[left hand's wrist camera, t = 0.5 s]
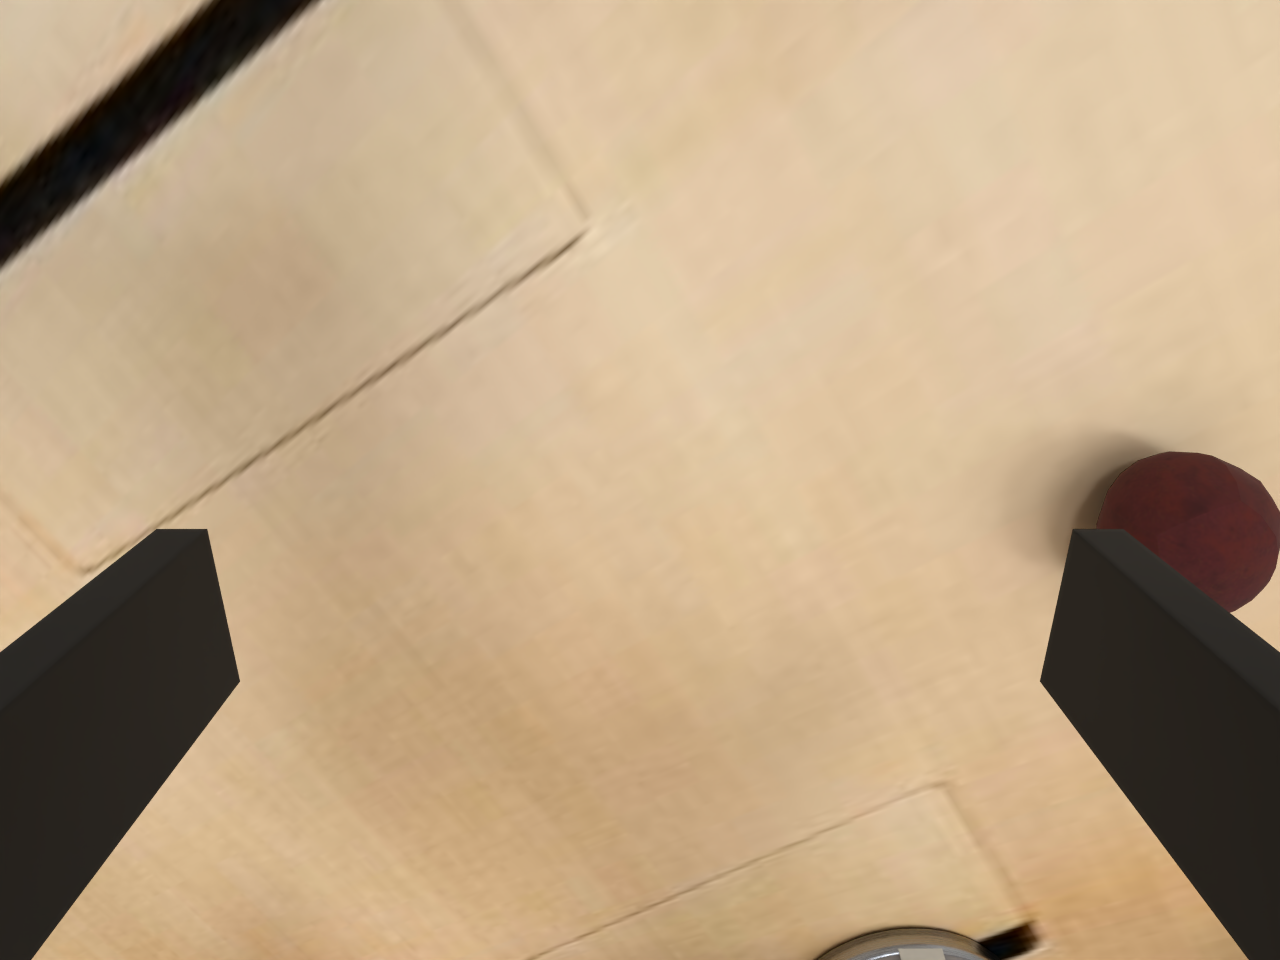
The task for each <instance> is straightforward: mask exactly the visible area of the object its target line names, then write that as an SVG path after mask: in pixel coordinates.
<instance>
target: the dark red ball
mask: <svg viewBox="0 0 1280 960" xmlns="http://www.w3.org/2000/svg"><path fill="white" fill-rule="evenodd" d="M1097 529H1124V530H1125V531H1126V532H1128V533H1129V534H1130V535H1131V536H1133V537H1134V538H1135V539H1137V540H1138V541H1139V542H1140V543H1142V544H1143V545H1144V546H1145V547H1147V548H1148V549H1149V550H1151V551H1152V552H1153V553H1154V554H1156V555H1157V556H1158V557H1159V558H1161V559H1162V560H1163V561H1164V562H1166V563H1167V564H1168V565H1170V566H1171V567H1172V568H1173V569H1175V570H1176V571H1177V572H1178V573H1180V574H1181V575H1182V576H1183V577H1185V578H1186V579H1187V580H1189V581H1190V582H1191V583H1192V584H1194V585H1195V586H1196V587H1197V588H1199V589H1200V590H1201V591H1203V592H1204V593H1205V594H1206V595H1208V596H1209V597H1210V598H1211V599H1213V600H1214V601H1215V602H1216V603H1218V604H1219V605H1220V606H1222V607H1223V608H1224V609H1225V610H1227V611H1228V612H1229V613H1230V612H1233V611H1235V610H1237V609H1239V608H1240V607H1242V606H1244V605H1245V604H1247V603H1248V602H1250V601H1252V600H1253V599H1254V598H1255V597H1256V596H1257V595H1258V594H1259V593H1260V592H1261V591H1262V590H1263V589H1264V587H1265V586H1266V585H1267V584H1268V582H1269V581H1270V579H1271V577H1272V575H1273V573H1274V571H1275V568H1276V564H1277V559H1278V554H1279V550H1280V511H1279V510H1278V508H1277V506H1276V504H1275V502H1274V500H1273V499H1272V497H1271V496H1270V494H1269V493H1268V491H1267V490H1266V489H1265V487H1264V486H1263V484H1262V483H1261V481H1259V480H1258V479H1256V478H1254V477H1253V476H1251V475H1250V474H1248V473H1247V472H1245V471H1243V470H1242V469H1240V468H1238V467H1236V466H1234V465H1231V464H1229V463H1227V462H1225V461H1223V460H1220V459H1218V458H1216V457H1214V456H1211V455H1206V454H1201V453H1189V452H1165V453H1160V454H1157V455H1154V456H1151V457H1147V458H1144V459H1141V460H1138V461H1137V462H1136V463H1134V464H1133V465H1131V466H1130V467H1129V468H1127V469H1126V470H1125V471H1123V472H1122V473H1121V474H1120V475H1119V476H1118V478H1117V479H1116V480H1115V482H1114V483H1113V484H1112V486H1111V487H1110V488H1109V490H1108V492H1107V495H1106V498H1105V500H1104V503H1103V506H1102V509H1101V512H1100V515H1099V518H1098V522H1097Z"/></svg>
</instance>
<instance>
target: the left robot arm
mask: <svg viewBox="0 0 1280 960" xmlns="http://www.w3.org/2000/svg"><path fill="white" fill-rule="evenodd" d="M239 682H240V679H239V674H238V670H237V665H236V661H235V656H234V651H233V647H232V642H231V637H230V633H229V628H228V624H227V619H226V614H225V610H224V605H223V600H222V596H221V591H220V586H219V582H218V577H217V573H216V568H215V563H214V559H213V554H212V549H211V545H210V540H209V535H208V531H207V529H156V530H155V531H154V532H152V533H151V534H150V535H149V536H147V537H146V538H145V539H143V540H142V541H141V542H140V543H138V544H137V545H136V546H135V547H133V548H132V549H131V550H129V551H128V552H127V553H126V554H124V555H123V556H122V557H121V558H119V559H118V560H117V561H116V562H114V563H113V564H112V565H110V566H109V567H108V568H107V569H105V570H104V571H103V572H102V573H100V574H99V575H98V576H97V577H95V578H94V579H93V580H91V581H90V582H89V583H88V584H86V585H85V586H84V587H83V588H81V589H80V590H79V591H77V592H76V593H75V594H74V595H72V596H71V597H70V598H69V599H67V600H66V601H65V602H64V603H62V604H61V605H60V606H58V607H57V608H56V609H55V610H53V611H52V612H51V613H50V614H48V615H47V616H46V617H44V618H43V619H42V620H41V621H39V622H38V623H37V624H36V625H34V626H33V627H32V628H31V629H29V630H28V631H27V632H25V633H24V634H23V635H22V636H20V637H19V638H18V639H17V640H15V641H14V642H13V643H12V644H10V645H9V646H8V647H6V648H5V649H4V650H3V651H1V652H0V960H31V959H32V958H33V957H34V955H35V954H36V953H37V951H38V950H39V949H40V947H41V946H42V945H43V943H44V942H45V941H46V939H47V938H48V937H49V935H50V934H51V933H52V931H53V930H54V929H55V927H56V926H57V925H58V923H59V922H60V921H61V919H62V918H63V917H64V915H65V914H66V913H67V911H68V910H69V909H70V907H71V906H72V905H73V903H74V902H75V901H76V899H77V898H78V897H79V895H80V894H81V893H82V891H83V890H84V889H85V887H86V886H87V885H88V883H89V882H90V881H91V879H92V878H93V877H94V875H95V874H96V873H97V871H98V870H99V869H100V867H101V866H102V865H103V863H104V862H105V861H106V859H107V858H108V857H109V855H110V854H111V853H112V851H113V850H114V849H115V847H116V846H117V845H118V843H119V842H120V841H121V839H122V838H123V837H124V835H125V834H126V833H127V831H128V830H129V829H130V827H131V826H132V825H133V823H134V822H135V821H136V819H137V818H138V817H139V815H140V814H141V813H142V811H143V810H144V809H145V807H146V806H147V805H148V803H149V802H150V801H151V799H152V798H153V797H154V795H155V794H156V793H157V791H158V790H159V789H160V787H161V786H162V785H163V783H164V782H165V781H166V779H167V778H168V777H169V775H170V774H171V773H172V771H173V770H174V769H175V767H176V766H177V765H178V763H179V762H180V761H181V759H182V758H183V757H184V755H185V754H186V753H187V751H188V750H189V749H190V747H191V746H192V745H193V743H194V742H195V741H196V739H197V738H198V737H199V735H200V734H201V733H202V731H203V730H204V729H205V727H206V726H207V725H208V723H209V722H210V721H211V719H212V718H213V717H214V715H215V714H216V713H217V711H218V710H219V709H220V707H221V706H222V705H223V703H224V702H225V701H226V699H227V698H228V697H229V695H230V694H231V693H232V691H233V690H234V689H235V687H236V686H237V685H238V683H239ZM1040 682H1041V683H1042V685H1043V686H1044V687H1045V689H1046V690H1047V691H1048V693H1049V694H1050V695H1051V697H1052V698H1053V699H1054V701H1055V702H1056V703H1057V705H1058V706H1059V707H1060V709H1061V710H1062V711H1063V713H1064V714H1065V715H1066V717H1067V718H1068V719H1069V721H1070V722H1071V723H1072V725H1073V726H1074V727H1075V729H1076V730H1077V731H1078V733H1079V734H1080V735H1081V737H1082V738H1083V739H1084V741H1085V742H1086V743H1087V745H1088V746H1089V747H1090V749H1091V750H1092V751H1093V753H1094V754H1095V755H1096V757H1097V758H1098V759H1099V761H1100V762H1101V763H1102V765H1103V766H1104V767H1105V769H1106V770H1107V771H1108V773H1109V774H1110V775H1111V777H1112V778H1113V779H1114V781H1115V782H1116V783H1117V785H1118V786H1119V787H1120V789H1121V790H1122V791H1123V793H1124V794H1125V795H1126V797H1127V798H1128V799H1129V801H1130V802H1131V803H1132V805H1133V806H1134V807H1135V809H1136V810H1137V811H1138V813H1139V814H1140V815H1141V817H1142V818H1143V819H1144V821H1145V822H1146V823H1147V825H1148V826H1149V827H1150V829H1151V830H1152V831H1153V833H1154V834H1155V835H1156V837H1157V838H1158V839H1159V841H1160V842H1161V843H1162V845H1163V846H1164V847H1165V849H1166V850H1167V851H1168V853H1169V854H1170V855H1171V857H1172V858H1173V859H1174V861H1175V862H1176V863H1177V865H1178V866H1179V867H1180V869H1181V870H1182V871H1183V873H1184V874H1185V875H1186V877H1187V878H1188V879H1189V881H1190V882H1191V883H1192V885H1193V886H1194V887H1195V889H1196V890H1197V891H1198V893H1199V894H1200V895H1201V897H1202V898H1203V899H1204V901H1205V902H1206V903H1207V905H1208V906H1209V907H1210V909H1211V910H1212V911H1213V913H1214V914H1215V915H1216V917H1217V918H1218V919H1219V921H1220V922H1221V923H1222V925H1223V926H1224V927H1225V929H1226V930H1227V931H1228V933H1229V934H1230V935H1231V937H1232V938H1233V939H1234V941H1235V942H1236V943H1237V945H1238V946H1239V947H1240V949H1241V950H1242V951H1243V953H1244V954H1245V955H1246V957H1247V958H1248V959H1249V960H1280V652H1279V651H1277V650H1276V649H1275V648H1274V647H1272V646H1271V645H1270V644H1268V643H1267V642H1266V641H1265V640H1263V639H1262V638H1261V637H1260V636H1258V635H1257V634H1256V633H1255V632H1253V631H1252V630H1251V629H1249V628H1248V627H1247V626H1246V625H1244V624H1243V623H1242V622H1241V621H1239V620H1238V619H1237V618H1235V617H1234V616H1233V615H1232V614H1230V613H1229V612H1228V611H1227V610H1225V609H1224V608H1223V607H1222V606H1220V605H1219V604H1218V603H1216V602H1215V601H1214V600H1213V599H1211V598H1210V597H1209V596H1208V595H1206V594H1205V593H1204V592H1203V591H1201V590H1200V589H1199V588H1197V587H1196V586H1195V585H1194V584H1192V583H1191V582H1190V581H1189V580H1187V579H1186V578H1185V577H1183V576H1182V575H1181V574H1180V573H1178V572H1177V571H1176V570H1175V569H1173V568H1172V567H1171V566H1170V565H1168V564H1167V563H1166V562H1164V561H1163V560H1162V559H1161V558H1159V557H1158V556H1157V555H1156V554H1154V553H1153V552H1152V551H1151V550H1149V549H1148V548H1147V547H1145V546H1144V545H1143V544H1142V543H1140V542H1139V541H1138V540H1137V539H1135V538H1134V537H1133V536H1131V535H1130V534H1129V533H1128V532H1126V531H1125V530H1124V529H1073V531H1072V535H1071V540H1070V545H1069V549H1068V554H1067V559H1066V563H1065V568H1064V573H1063V577H1062V582H1061V586H1060V591H1059V596H1058V600H1057V605H1056V610H1055V614H1054V619H1053V624H1052V628H1051V633H1050V637H1049V642H1048V647H1047V651H1046V656H1045V661H1044V665H1043V670H1042V674H1041V679H1040Z"/></svg>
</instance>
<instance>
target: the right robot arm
mask: <svg viewBox="0 0 1280 960" xmlns="http://www.w3.org/2000/svg"><path fill="white" fill-rule="evenodd" d="M818 960H1000V959H999V958H998V957H997V956H996V955H995V954H994V953H993V952H991V951H990V950H989V949H987V948H986V947H984V946H982V945H981V944H979V943H977V942H975V941H973V940H971V939H969V938H966V937H963V936H960V935H957V934H953V933H950V932H945V931H939V930H931V929H914V928H913V929H897V930H889V931H883V932H878V933H874V934H870V935H866V936H863V937H860V938H857V939H854V940H852V941H849V942H847V943H845V944H843V945H841V946H839V947H837V948H835V949H833V950H831V951H830V952H828V953H827V954H825V955H824V956H822V957H821V958H819V959H818Z"/></svg>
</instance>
